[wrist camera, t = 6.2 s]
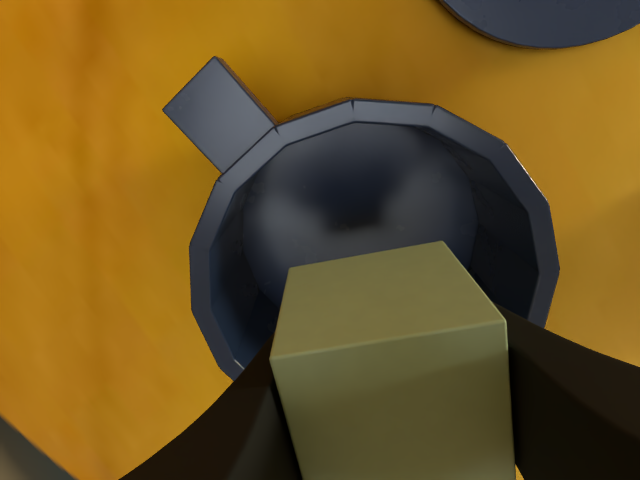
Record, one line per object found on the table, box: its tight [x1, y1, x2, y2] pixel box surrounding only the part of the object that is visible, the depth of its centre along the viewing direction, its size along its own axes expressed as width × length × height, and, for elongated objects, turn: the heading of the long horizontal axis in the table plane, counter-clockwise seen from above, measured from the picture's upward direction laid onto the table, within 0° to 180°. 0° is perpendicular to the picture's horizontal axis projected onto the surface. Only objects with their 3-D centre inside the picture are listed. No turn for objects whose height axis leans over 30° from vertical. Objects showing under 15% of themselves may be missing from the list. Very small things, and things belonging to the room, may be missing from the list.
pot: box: [162, 56, 560, 381], centre depth 17 cm, size 12×18×6 cm
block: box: [269, 241, 516, 480], centre depth 10 cm, size 4×4×4 cm
